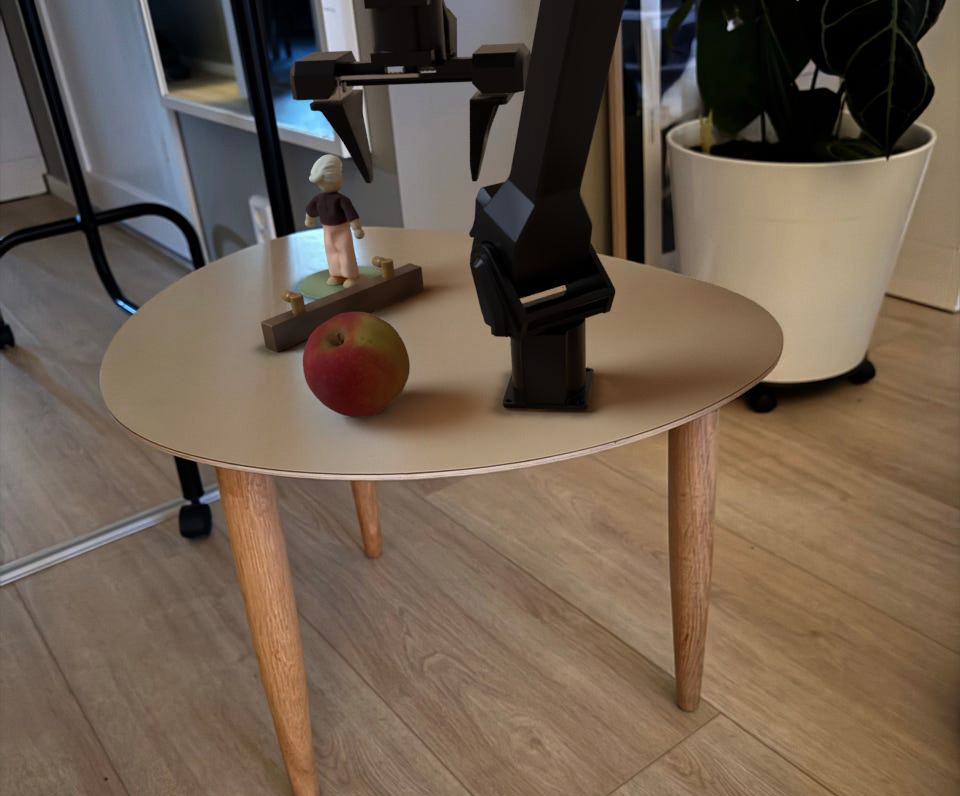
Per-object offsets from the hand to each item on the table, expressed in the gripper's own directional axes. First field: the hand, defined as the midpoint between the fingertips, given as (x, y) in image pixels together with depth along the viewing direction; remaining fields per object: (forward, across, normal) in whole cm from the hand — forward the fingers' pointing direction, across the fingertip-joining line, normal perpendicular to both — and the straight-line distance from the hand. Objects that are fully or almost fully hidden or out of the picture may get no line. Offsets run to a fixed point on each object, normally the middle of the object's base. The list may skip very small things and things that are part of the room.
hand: (422, 181), depth 80 cm
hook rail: (+13, +13, -5) cm, 19 cm away
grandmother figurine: (+13, +12, -10) cm, 20 cm away
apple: (+13, +2, +17) cm, 22 cm away
